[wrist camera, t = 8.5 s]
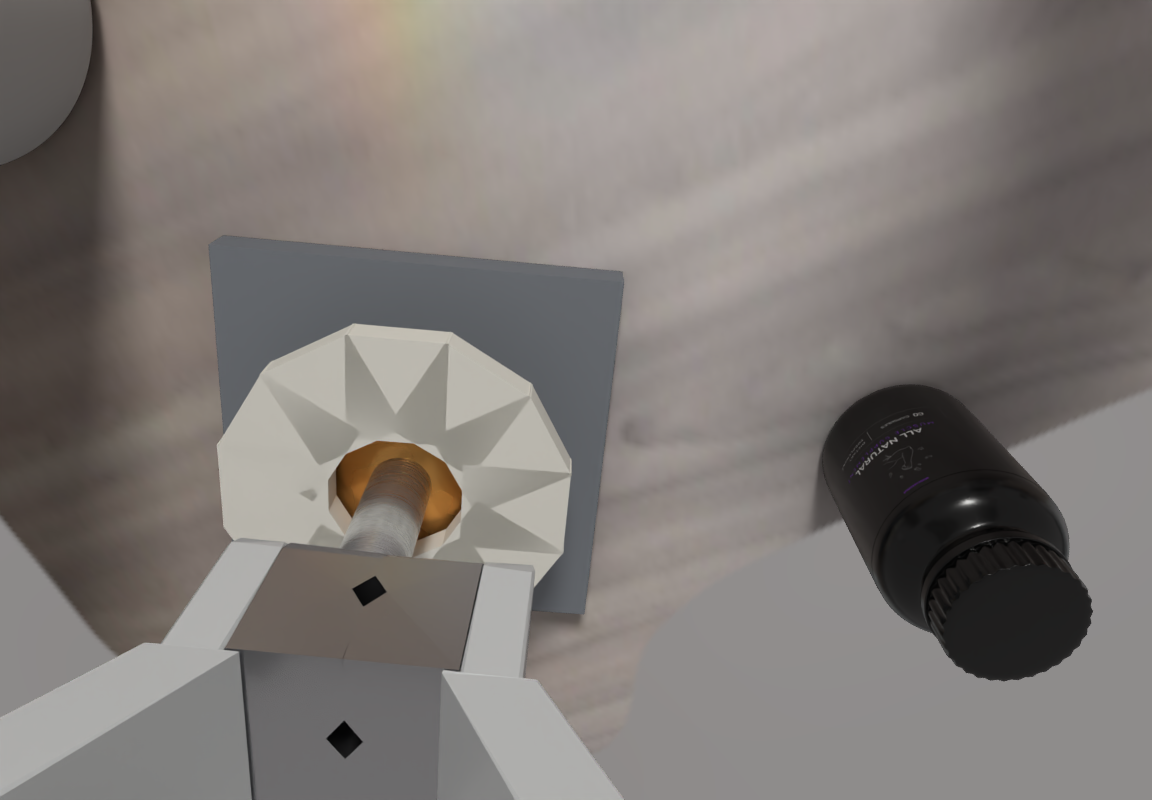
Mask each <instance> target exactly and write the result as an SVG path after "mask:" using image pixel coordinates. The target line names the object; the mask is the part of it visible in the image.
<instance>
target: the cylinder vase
mask: <svg viewBox="0 0 1152 800" xmlns="http://www.w3.org/2000/svg"><path fill="white" fill-rule="evenodd" d="M92 34H93V25H92V10H91V1H90V0H0V165H2V164H5V163H8V162H10V161H13V160H15V159H17V158H20V157H21V156H23V155H25V154H27V153H29V152H30V151H32V150H33V149H35V148H36V147H38V146H39V145H41V144H42V143H43V142H44V141H46V140H47V139H48V138H49V137H50V136H51V135H52V134H53V133H54V132H55V131H56V130H57V129H58V128H59V127H60V125H61V124H62V123H63V122H64V120H65V119H66V118H67V116H68V115H69V113H70V112H71V110H72V108H73V107H74V105H75V103H76V101H77V99H78V97H79V95H80V93H81V90H82V87H83V85H84V82H85V79H86V75H87V72H88V67H89V63H90V57H91V50H92Z"/></svg>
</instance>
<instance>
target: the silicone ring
mask: <svg viewBox="0 0 1152 800" xmlns="http://www.w3.org/2000/svg"><path fill="white" fill-rule="evenodd" d="M259 375H260V376H259V378H258V379H257V381H256V383H255V384H254V386H253V388H252V389H251V391H250V392H249V394H248V396H247V397H246V399H245V401H244V402H243V404H242V406H241V407H240V409H239V411H238V412H237V414H236V416H235V417H234V419H233V420H232V422H231V424H230V425H229V427H228V429H227V430H226V432H225V434H224V435H223V437H222V439H221V440H220V441H219V443H218V444H217V452H218V464H219V476H220V488H221V500H222V512H223V524H224V525H223V527H224V528H225V529H226V531H227V532H228V533H229V535H230V536H231V537H232V539H233V540H234V541H235V540H237V539H239V538H249V539H259V540H269V541H279V542H285V543H288V544H289V543H298V544H307V545H315V546H324V547H332V548H339V547H340V545H341V543H342V541H343V538H344V536H345V534H346V531H347V529H348V527H349V525H350V522H351V520H352V518H351V516H350V515H349V513H348V512H347V510H346V509H345V507H344V506H343V504H342V503H341V501H340V500H339V498H338V497H337V495H336V467H337V466H338V465H339V463H340V462H341V460H342V459H343V457H344V456H345V454H347V453H349V452H352V451H354V450H356V449H359V448H361V447H363V446H366V445H368V444H370V443H373V442H375V441H389V442H401V443H413V444H416V445H417V446H419V447H421V448H422V449H424V450H426V451H427V452H429V453H431V454H432V455H434V456H436V457H437V458H439V459H441V460H442V461H444V462H445V463H446V464H447V466H448V468H449V470H450V471H451V473H452V475H453V476H454V478H455V480H456V481H457V483H458V485H459V487H460V488H461V490H462V505H461V510H460V512H459V513H458V514H457V515H456V517H455V518H454V519H453V521H452V522H451V523H450V525H449V526H448V527H447V529H445V530H442V531H440V532H437V533H435V534H432V535H430V536H427V537H425V538H422V539H420V540H418V541H417V542H416V545H415V548H414V552H413V555H412V557H416V558H427V559H439V560H450V561H461V562H473V563H483V564H485V563H486V562H492V563H507V564H523V565H533V567H534V569H535V579H534V587H535V586H536V585H537V583H538V582H539V581H540V580H541V579H542V577H543V576H544V575H545V574H546V573H547V571H548V570H549V569H550V568H551V567H552V565H553V564H554V563H555V562H556V561H557V559H558V558H559V557H560V556H561V555H562V554H563V552H564V537H565V527H566V518H567V508H568V498H569V489H570V479H571V476H572V460H571V458H570V456H569V455H568V453H567V451H566V449H565V447H564V445H563V443H562V441H561V439H560V437H559V435H558V433H557V432H556V430H555V428H554V426H553V424H552V422H551V420H550V418H549V416H548V414H547V412H546V410H545V408H544V407H543V405H542V403H541V401H540V399H539V397H538V395H537V393H536V391H535V389H534V387H533V384H531V382H528V381H527V380H525V379H524V378H522V377H520V376H519V375H517V374H516V373H514V372H513V371H511V370H510V369H508V368H506V367H505V366H503V365H502V364H500V363H499V362H497V361H496V360H494V359H492V358H491V357H489V356H488V355H486V354H485V353H483V352H482V351H480V350H478V349H477V348H475V347H474V346H472V345H471V344H469V343H468V342H466V341H464V340H463V339H461V338H460V337H458V336H457V335H455V334H454V333H453V332H444V331H432V330H421V329H410V328H398V327H387V326H375V325H364V324H356V323H355V324H352V325H350V326H348V327H346V328H344V329H341V330H339V331H337V332H335V333H333V334H330V335H328V336H326V337H324V338H322V339H320V340H317V341H315V342H313V343H311V344H309V345H306V346H304V347H302V348H300V349H298V350H296V351H293V352H291V353H289V354H287V355H285V356H282V357H280V358H278V359H276V360H274V361H273V360H272V361H271V362H270V363H269V364H268V365H267V366H266V367H265V369H264V370H263V371H262V372H261V373H260V374H259Z"/></svg>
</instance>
